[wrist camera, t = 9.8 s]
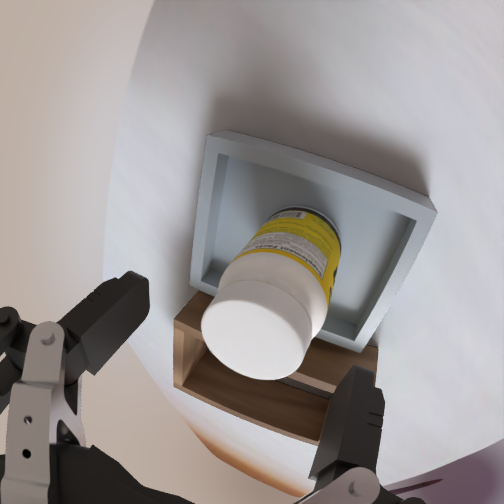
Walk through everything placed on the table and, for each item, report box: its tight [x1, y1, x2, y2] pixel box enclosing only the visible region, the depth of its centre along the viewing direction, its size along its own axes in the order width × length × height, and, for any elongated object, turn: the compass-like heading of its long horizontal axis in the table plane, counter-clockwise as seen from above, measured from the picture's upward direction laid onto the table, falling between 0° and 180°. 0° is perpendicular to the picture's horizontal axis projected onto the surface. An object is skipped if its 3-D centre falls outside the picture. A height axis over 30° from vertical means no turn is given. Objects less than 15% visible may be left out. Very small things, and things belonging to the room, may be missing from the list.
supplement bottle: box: [201, 206, 342, 380], centre depth 14 cm, size 5×5×8 cm
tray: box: [189, 130, 438, 353], centre depth 17 cm, size 10×12×2 cm
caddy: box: [173, 290, 378, 446], centre depth 22 cm, size 9×14×4 cm, turn 78°
